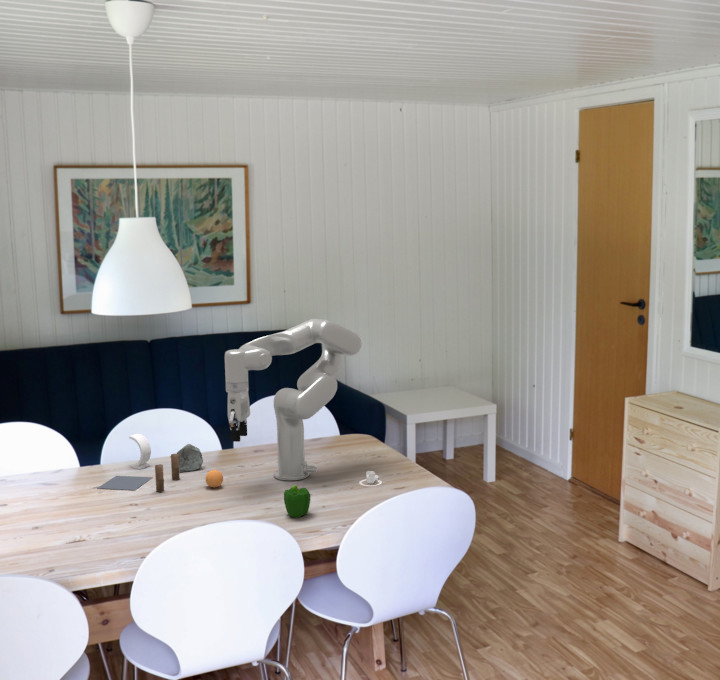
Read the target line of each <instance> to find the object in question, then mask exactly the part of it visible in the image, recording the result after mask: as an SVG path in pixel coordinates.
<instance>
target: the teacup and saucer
mask: <svg viewBox="0 0 720 680" xmlns="http://www.w3.org/2000/svg"><path fill="white" fill-rule="evenodd" d="M365 476H366V478H365V479H362V480H359V482H358V484H359V485H360V486H364V487H377V486H380V485H383V481H382V480H381V479H379V475H377V474H376V471H373V470H371V471H370V470H367V471H366V472H365ZM365 481H366V482H367V484H370V485H367V484H364V483H363V482H365ZM375 481H376V482H378V483H376V484H374V483H375ZM372 484H373V485H372Z"/></svg>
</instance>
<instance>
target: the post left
mask: <svg viewBox="0 0 720 680" xmlns="http://www.w3.org/2000/svg"><path fill="white" fill-rule="evenodd" d="M154 472H155V473H154V475H155V491H156V493H164V492H165V480H164V479H165V478H164V465H163V464H155V465H154Z"/></svg>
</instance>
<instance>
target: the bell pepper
mask: <svg viewBox="0 0 720 680" xmlns="http://www.w3.org/2000/svg"><path fill="white" fill-rule="evenodd" d="M283 502H284V507H285V509H286V513H287V514H288V515H289V516H290V517H291V518H301V517H303V516H305V515H307V514H308V513H309V508H310V505H311V493H310V491H309V490H308V489H307V488H306V487H302V488H298V485H296V484H294V485H292V486H291V487H290V488H289V489H284V492H283Z"/></svg>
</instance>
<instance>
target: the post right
mask: <svg viewBox="0 0 720 680" xmlns="http://www.w3.org/2000/svg"><path fill="white" fill-rule="evenodd" d="M170 467H171V468H170V469H171V480H172V481H178V480H180V472H179V458H178V454H177V453H172V454H170Z"/></svg>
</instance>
